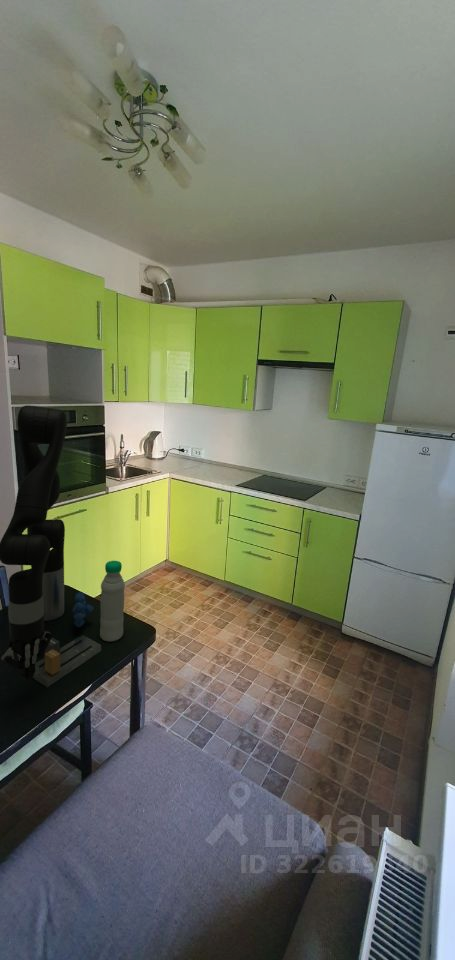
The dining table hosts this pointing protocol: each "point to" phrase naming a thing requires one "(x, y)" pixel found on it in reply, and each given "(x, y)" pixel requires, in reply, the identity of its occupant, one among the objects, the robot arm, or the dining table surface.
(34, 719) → the dining table surface
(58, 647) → the fader
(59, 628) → the dining table surface
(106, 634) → the water bottle
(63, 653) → the console
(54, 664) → the fader
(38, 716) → the dining table surface
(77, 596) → the grapes
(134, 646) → the dining table surface
